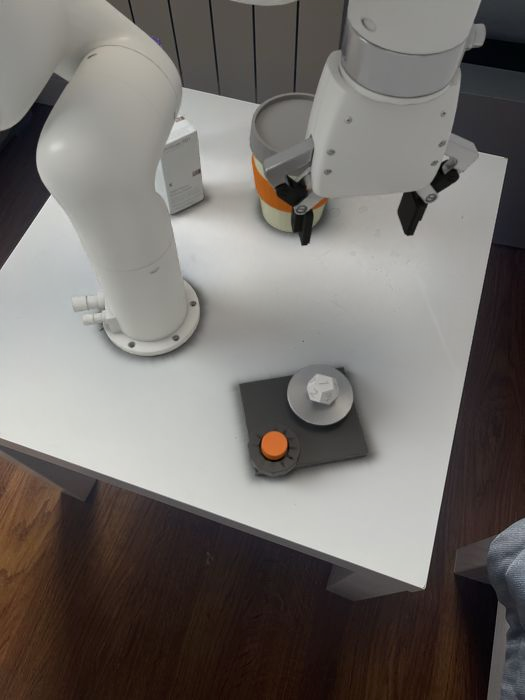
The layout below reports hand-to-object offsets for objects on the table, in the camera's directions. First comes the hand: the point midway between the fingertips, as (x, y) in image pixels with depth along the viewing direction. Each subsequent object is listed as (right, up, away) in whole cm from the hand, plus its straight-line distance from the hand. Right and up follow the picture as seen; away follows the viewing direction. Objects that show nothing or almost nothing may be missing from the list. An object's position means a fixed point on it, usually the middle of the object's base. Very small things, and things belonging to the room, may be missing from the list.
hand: (353, 228), depth 49 cm
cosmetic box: (-21, +12, +31) cm, 39 cm away
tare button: (-7, -22, +10) cm, 25 cm away
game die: (-2, -16, +12) cm, 21 cm away
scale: (-4, -20, +14) cm, 25 cm away
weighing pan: (-2, -16, +13) cm, 21 cm away
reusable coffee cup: (-4, +10, +31) cm, 32 cm away
